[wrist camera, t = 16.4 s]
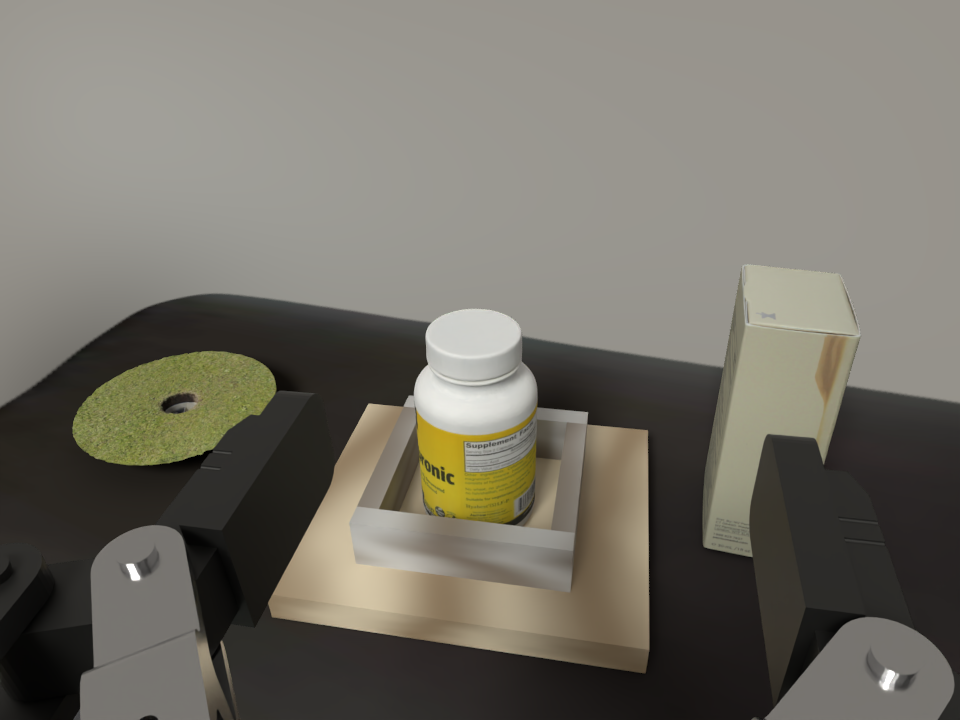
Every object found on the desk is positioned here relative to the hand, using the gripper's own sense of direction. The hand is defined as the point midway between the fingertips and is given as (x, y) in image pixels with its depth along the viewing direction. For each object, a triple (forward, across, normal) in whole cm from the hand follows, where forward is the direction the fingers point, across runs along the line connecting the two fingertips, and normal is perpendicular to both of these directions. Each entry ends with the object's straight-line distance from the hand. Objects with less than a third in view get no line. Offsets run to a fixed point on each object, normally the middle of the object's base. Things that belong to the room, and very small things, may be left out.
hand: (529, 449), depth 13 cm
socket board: (+15, +5, +18) cm, 24 cm away
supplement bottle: (+15, +5, +17) cm, 23 cm away
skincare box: (+18, -8, +19) cm, 27 cm away
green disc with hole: (+20, +24, +18) cm, 36 cm away
